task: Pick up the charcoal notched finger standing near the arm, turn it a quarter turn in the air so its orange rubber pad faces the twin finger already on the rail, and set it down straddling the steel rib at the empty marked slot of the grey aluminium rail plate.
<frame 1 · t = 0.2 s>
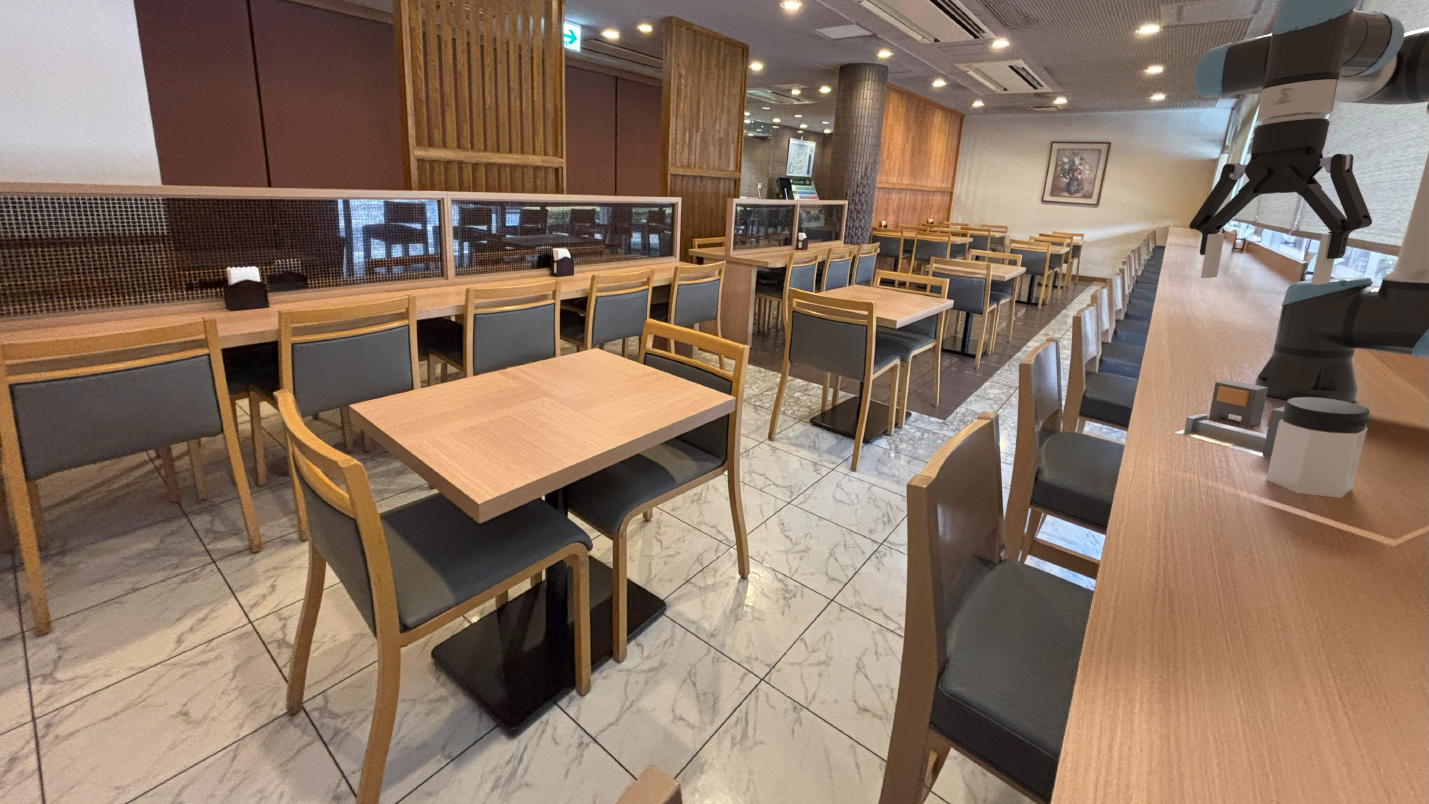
hand: (1260, 280, 90), 27 cm above the counter, fingers open, 13 cm apart
jar: (1306, 489, 86), on the counter
fixed finger: (1287, 453, 96), resting on rail
rail: (1256, 448, 100), on the counter
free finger: (1233, 423, 112), on the counter
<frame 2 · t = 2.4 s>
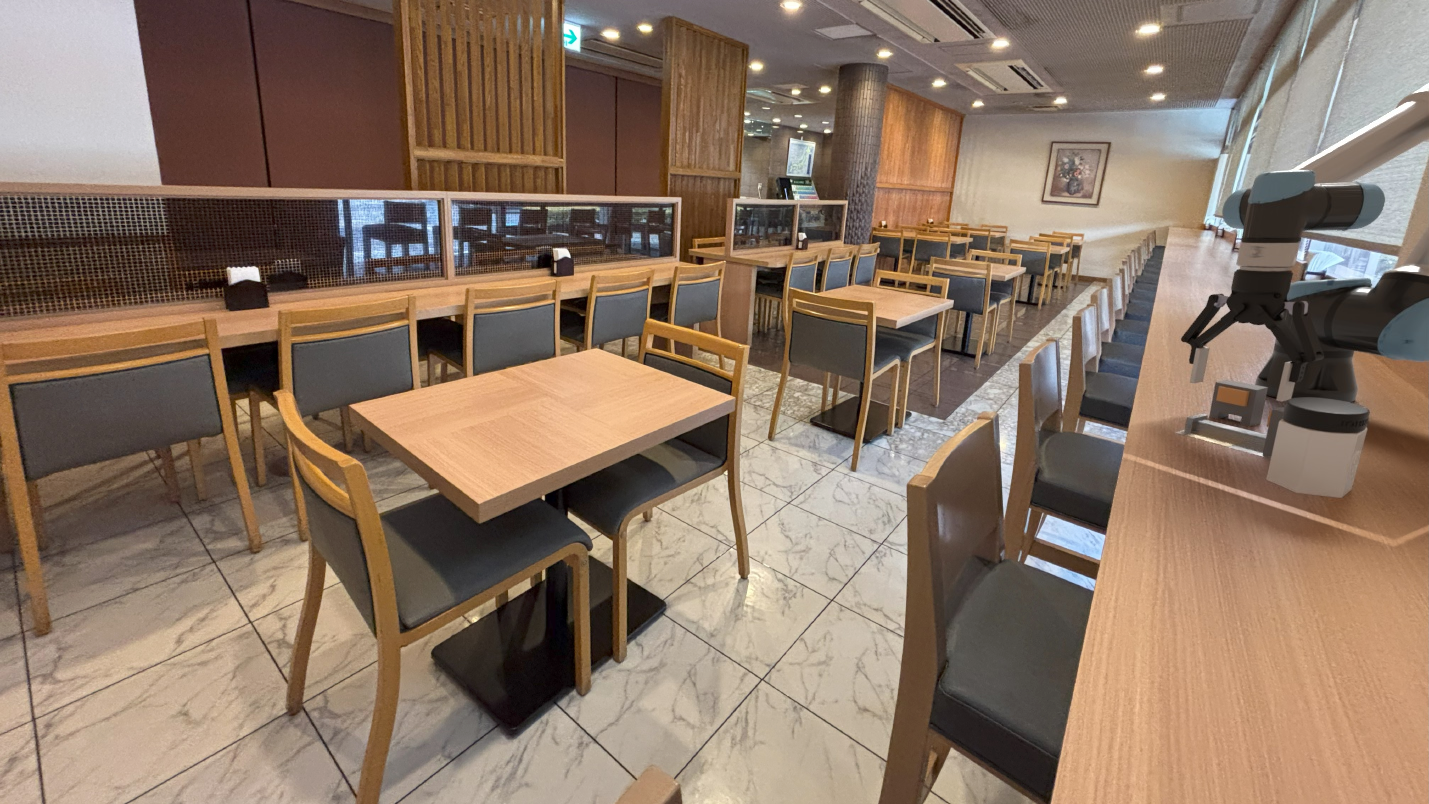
hand: (1237, 390, 110), 6 cm above the counter, fingers open, 13 cm apart
nothing on the counter moved.
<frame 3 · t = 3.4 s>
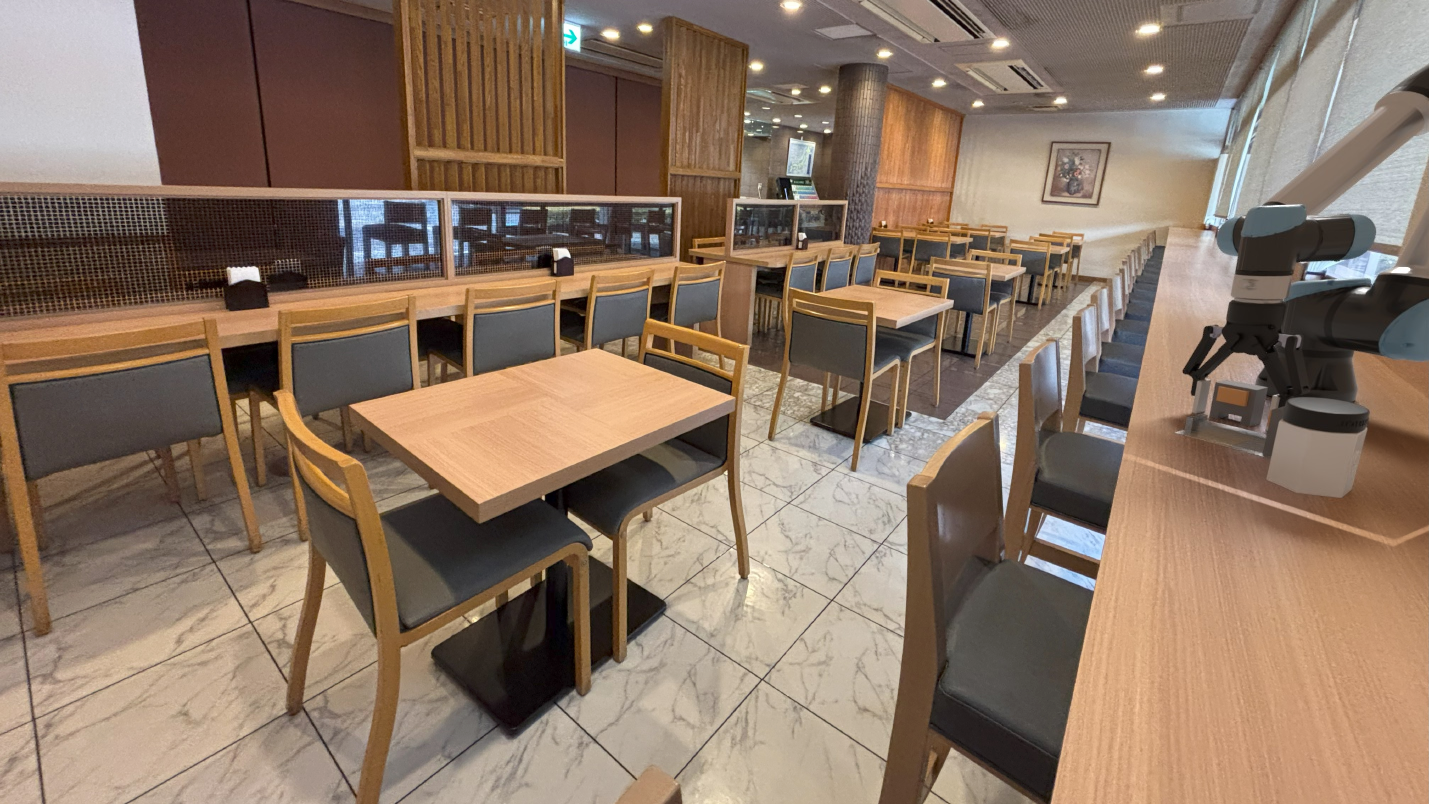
hand: (1233, 422, 112), 0 cm above the counter, fingers open, 11 cm apart
nothing on the counter moved.
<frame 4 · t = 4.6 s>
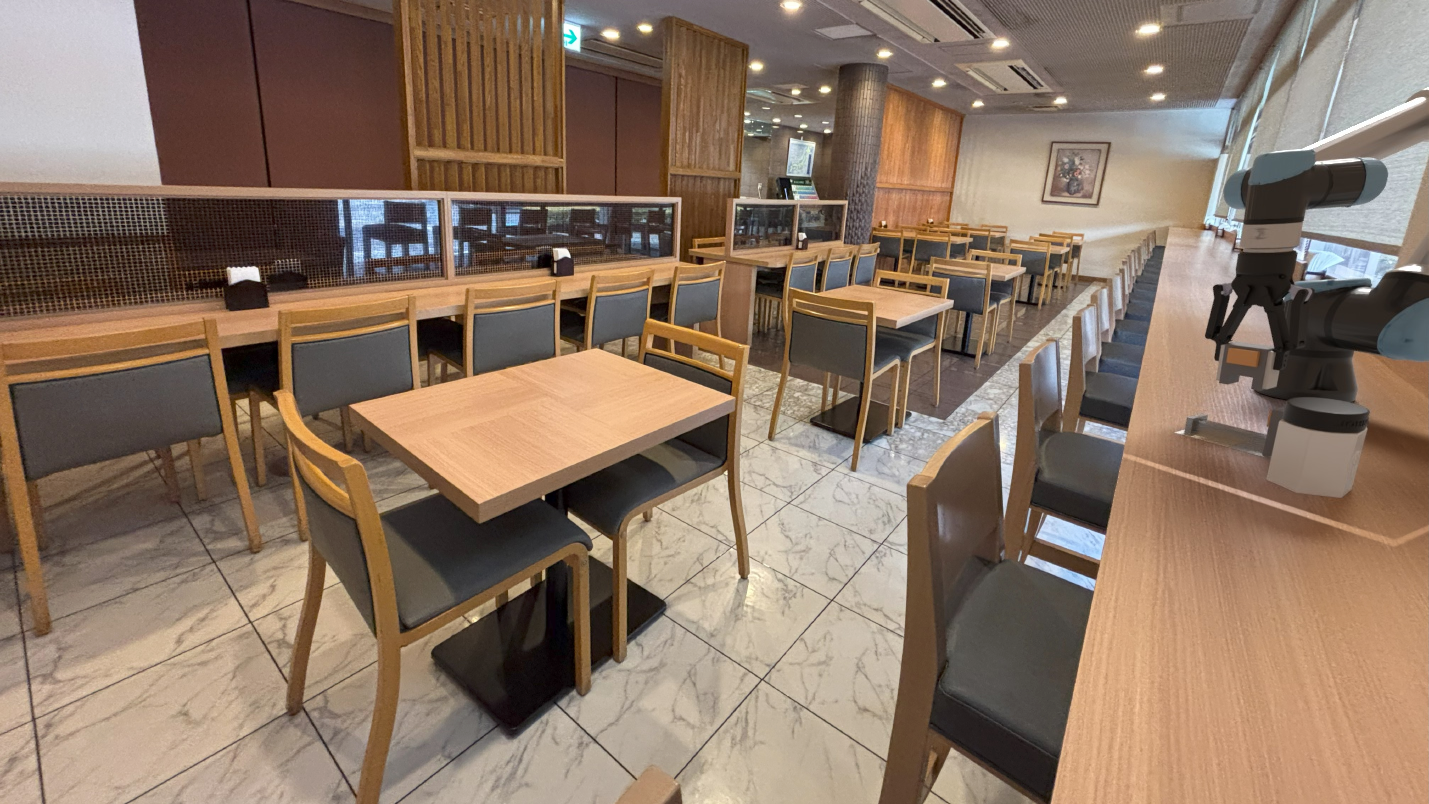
hand: (1245, 383, 110), 7 cm above the counter, fingers closed on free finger, 6 cm apart
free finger: (1244, 385, 110), point 7 cm above the counter, touching gripper
everything else where it was.
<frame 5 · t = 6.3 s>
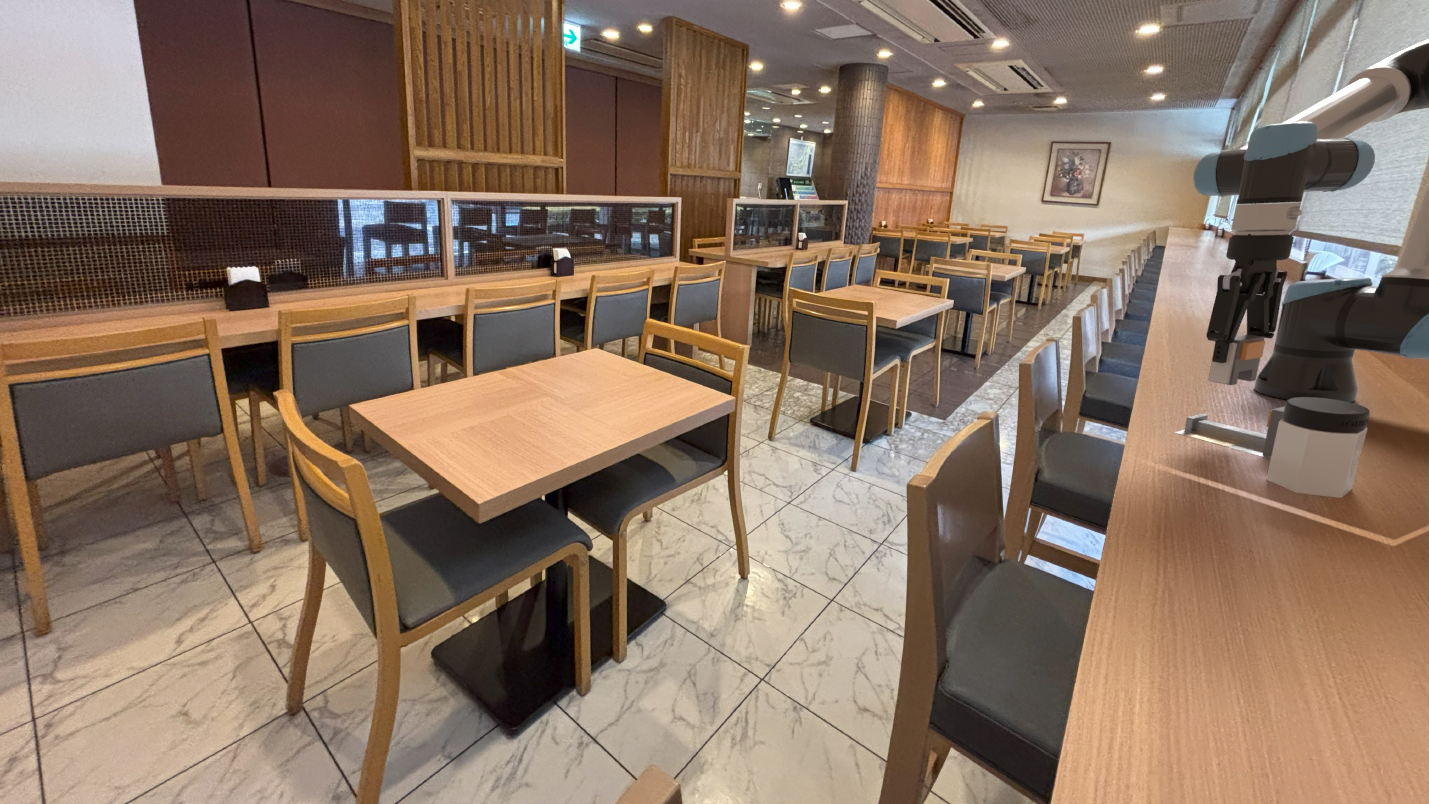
hand: (1232, 378, 102), 11 cm above the counter, fingers closed on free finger, 6 cm apart
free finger: (1232, 380, 102), point 10 cm above the counter, touching gripper
everything else where it was.
when the fingers open (1 cm above the counter, at t = 8.0 s): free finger stays where it is, resting on rail.
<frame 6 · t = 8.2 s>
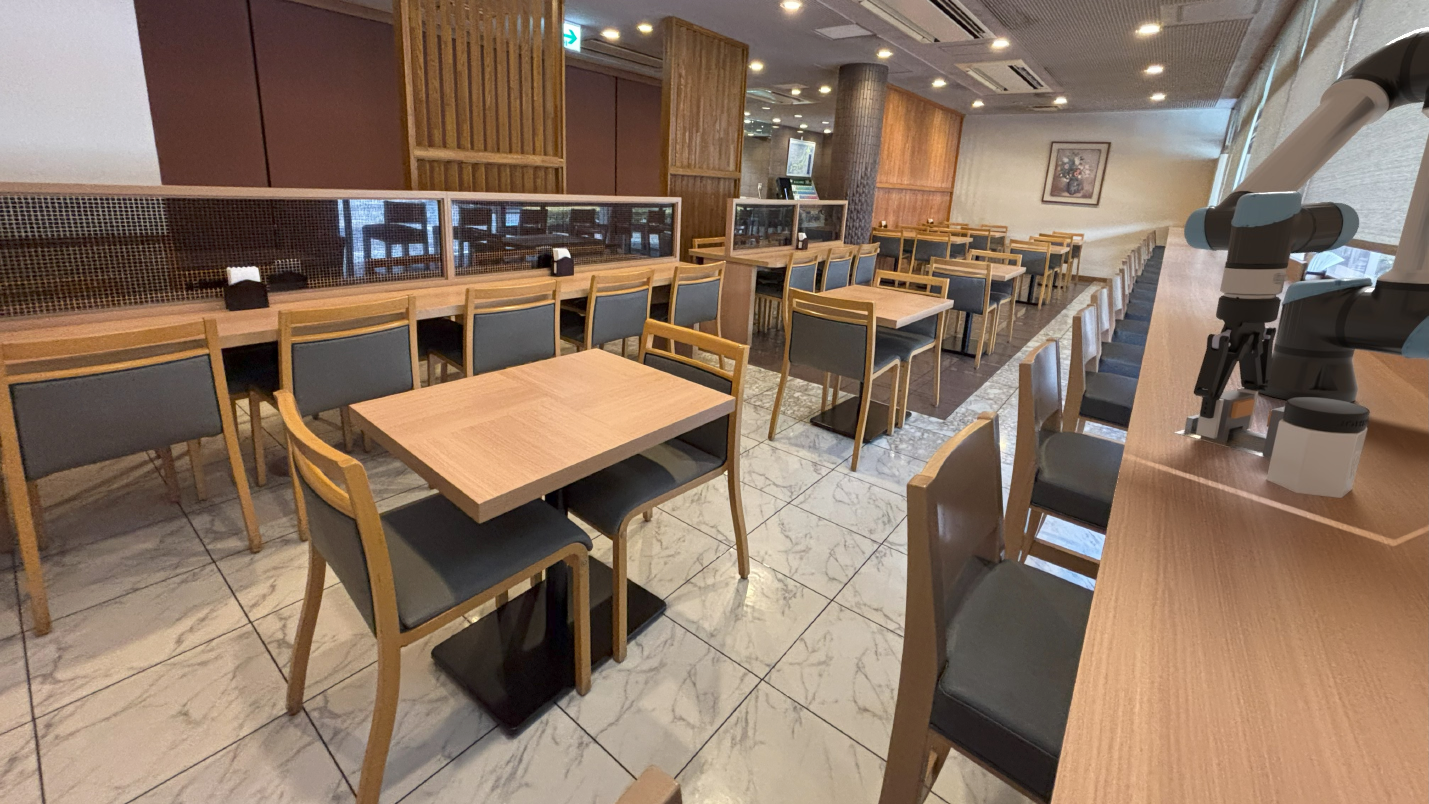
hand: (1223, 431, 104), 2 cm above the counter, fingers open, 8 cm apart
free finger: (1223, 436, 104), point 1 cm above the counter, touching rail
everything else where it was.
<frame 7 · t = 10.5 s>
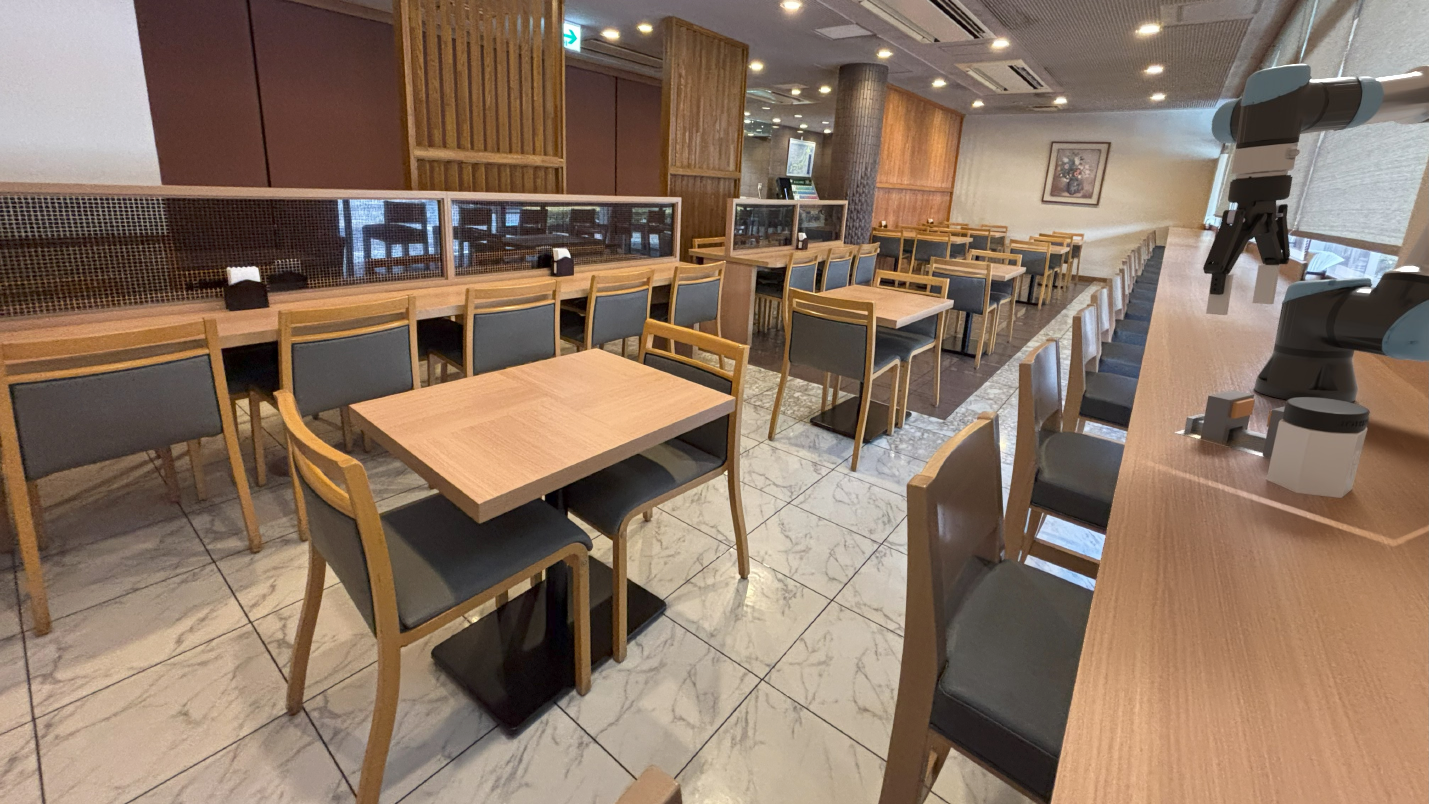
hand: (1240, 308, 105), 21 cm above the counter, fingers open, 13 cm apart
nothing on the counter moved.
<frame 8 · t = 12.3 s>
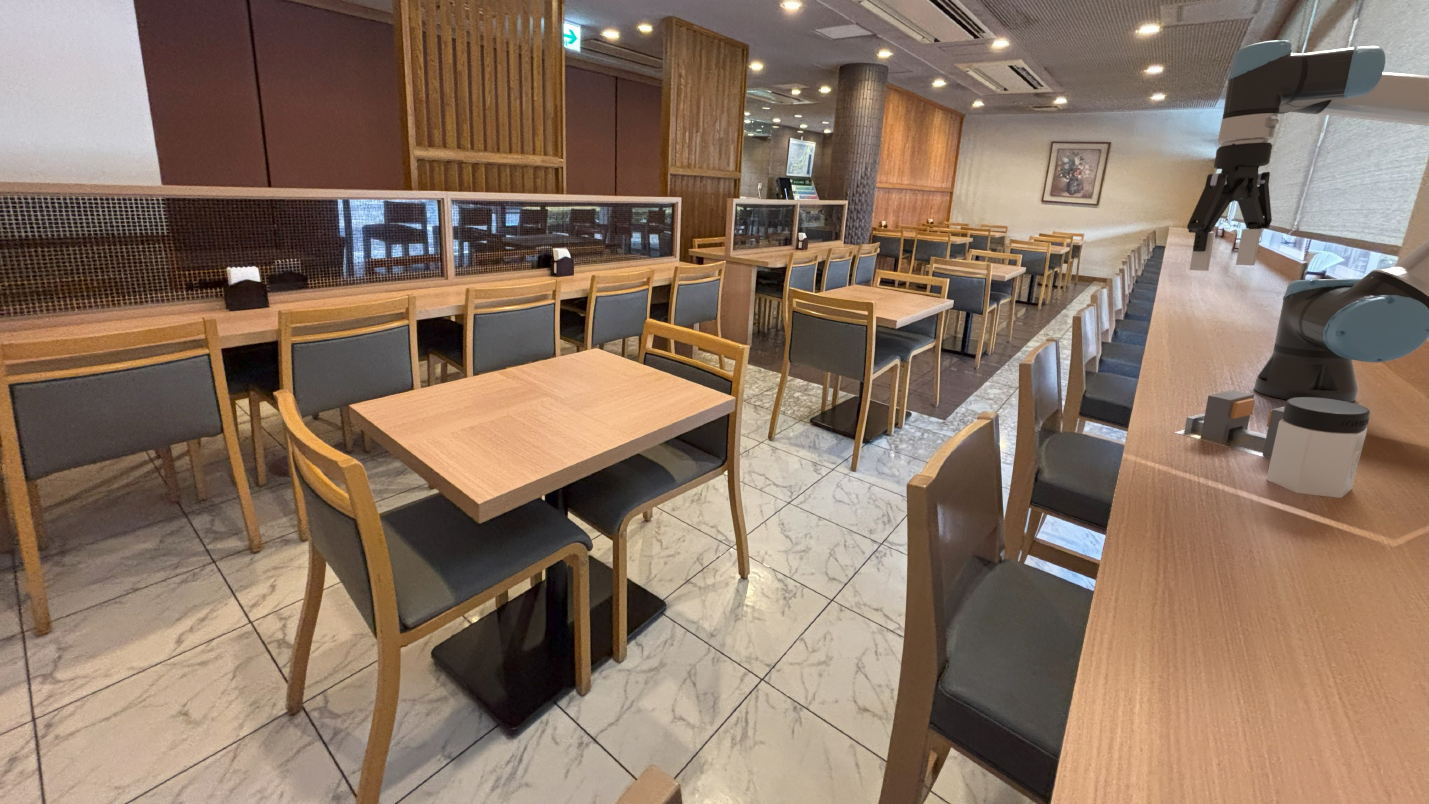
hand: (1222, 267, 114), 27 cm above the counter, fingers open, 13 cm apart
nothing on the counter moved.
at the end: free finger 0.1 cm from the target spot on the rail, point 0.7 cm above the rail's base; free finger tilted 0°; the gripper is holding nothing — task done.
